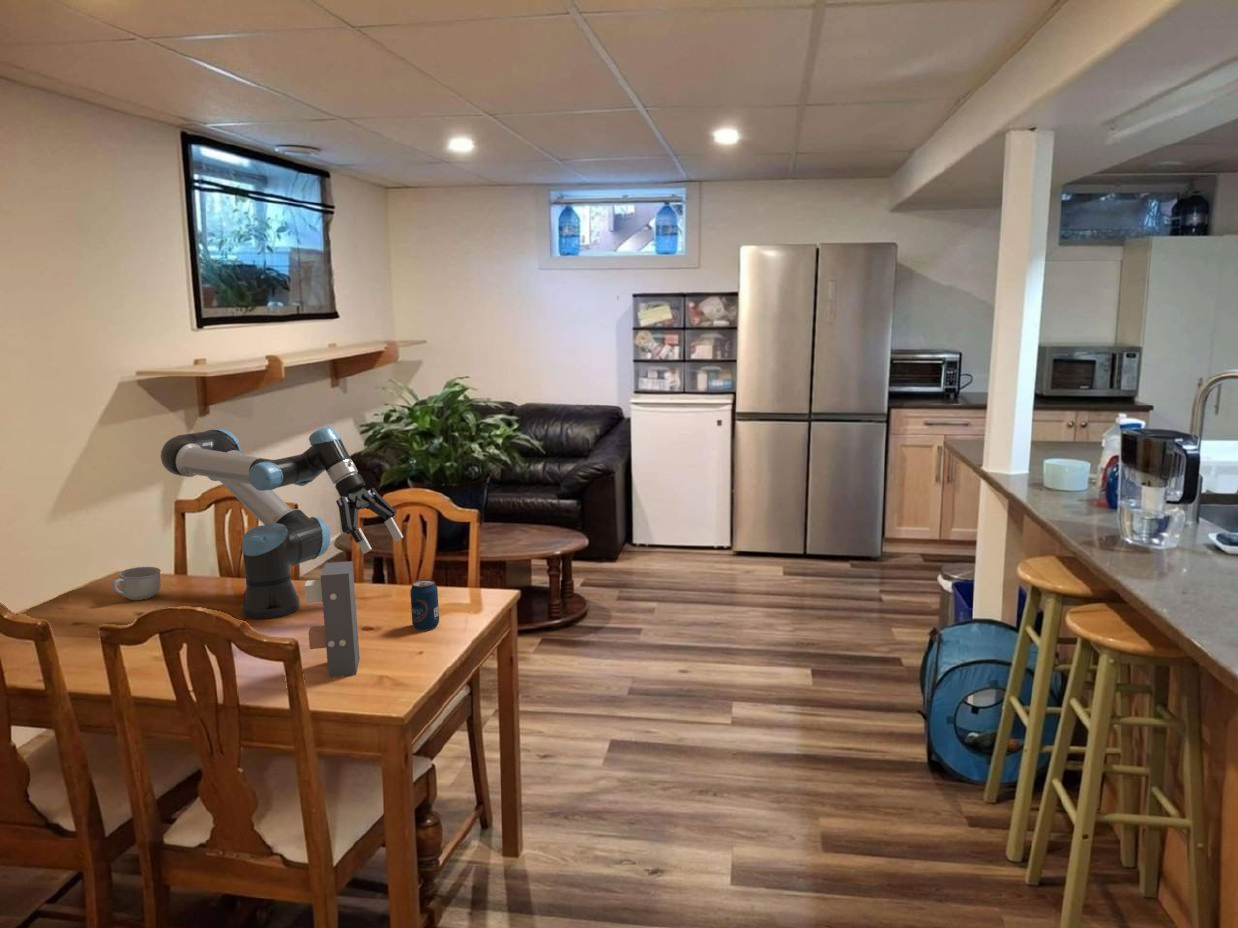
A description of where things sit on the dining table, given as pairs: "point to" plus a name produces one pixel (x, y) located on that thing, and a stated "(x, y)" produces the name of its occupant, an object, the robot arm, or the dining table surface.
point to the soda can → (424, 605)
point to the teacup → (138, 583)
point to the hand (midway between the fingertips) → (384, 545)
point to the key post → (340, 618)
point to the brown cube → (317, 637)
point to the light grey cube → (313, 591)
